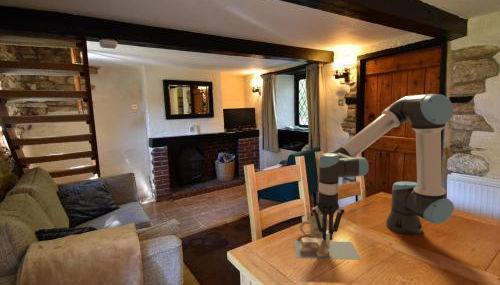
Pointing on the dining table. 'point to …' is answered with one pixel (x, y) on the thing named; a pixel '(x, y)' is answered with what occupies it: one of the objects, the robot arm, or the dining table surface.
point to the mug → (312, 226)
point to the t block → (315, 245)
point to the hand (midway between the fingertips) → (327, 246)
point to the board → (330, 251)
